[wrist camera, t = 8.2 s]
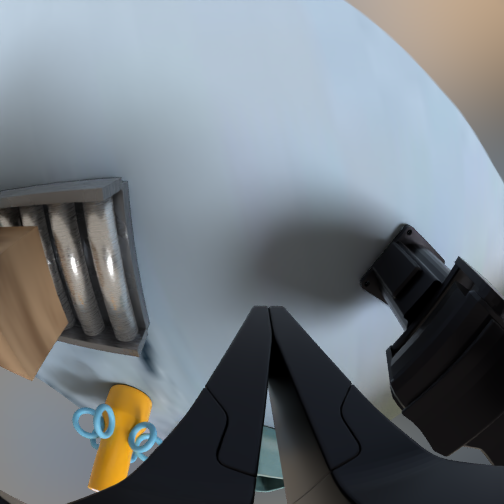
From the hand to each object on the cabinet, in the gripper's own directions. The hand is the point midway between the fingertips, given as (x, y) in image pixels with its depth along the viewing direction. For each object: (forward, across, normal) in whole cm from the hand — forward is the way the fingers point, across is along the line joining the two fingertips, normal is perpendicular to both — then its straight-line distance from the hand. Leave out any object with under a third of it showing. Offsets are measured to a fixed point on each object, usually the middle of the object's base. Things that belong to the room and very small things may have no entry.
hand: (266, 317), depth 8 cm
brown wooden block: (+9, +21, +5) cm, 23 cm away
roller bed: (+12, +18, +5) cm, 22 cm away
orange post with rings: (+12, +15, +26) cm, 32 cm away
